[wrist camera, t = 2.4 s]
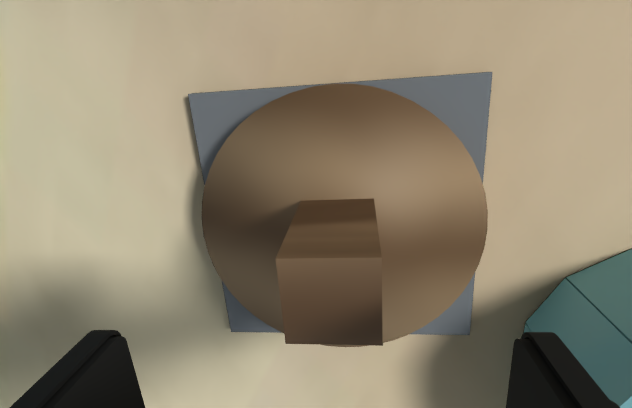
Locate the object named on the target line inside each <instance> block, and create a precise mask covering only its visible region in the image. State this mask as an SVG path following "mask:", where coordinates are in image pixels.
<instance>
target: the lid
mask: <svg viewBox="0 0 632 408" xmlns="http://www.w3.org/2000/svg"><path fill="white" fill-rule="evenodd" d="M487 217H488V211H487V203H486V196H485V191H484V188H483V184H482V181H481V177H480V174H479V172H478V170H477V168H476V166H475V163H474V161H473V159H472V157H471V156H470V154H469V153H468V151H467V150H466V148H465V147H464V145H463V143H462V142H461V141H460V140H459V138H458V137H457V136H456V135H455V134H454V133H453V132H452V131H451V129H450V128H449V127H448V126H447V125H446V124H444V123H443V122H442V121H441V120H440V119H438V118H437V117H436V116H435V115H434V114H432V113H431V112H430V111H428V110H426V109H425V108H423V107H421V106H420V105H418V104H417V103H415V102H413V101H411V100H409V99H407V98H405V97H403V96H400V95H398V94H396V93H393V92H391V91H387V90H384V89H380V88H377V87H373V86H367V85H359V84H326V85H319V86H312V87H309V88H305V89H302V90H298V91H295V92H292V93H289V94H287V95H284V96H282V97H280V98H278V99H275V100H273V101H271V102H269V103H268V104H266V105H265V106H263V107H261V108H260V109H258V110H257V111H255V112H254V113H252V114H251V115H250V116H249V117H248V118H247V119H245V120H244V121H243V122H242V123H241V124H239V126H238V127H237V128H236V129H235V130H234V131H233V132H232V133H231V135H230V136H229V137H228V138H227V139H226V141H225V142H224V144H223V145H222V147H221V148H220V150H219V152H218V153H217V155H216V157H215V159H214V161H213V164H212V166H211V168H210V170H209V174H208V177H207V180H206V183H205V187H204V194H203V200H202V224H203V232H204V238H205V242H206V246H207V250H208V253H209V255H210V258H211V260H212V263H213V265H214V267H215V269H216V271H217V273H218V274H219V276H220V278H221V280H222V281H223V283H224V284H225V285H226V287H227V288H228V290H229V291H230V292H231V294H232V295H233V296H234V297H235V298H236V299H237V300H238V301H239V302H240V303H241V304H242V305H243V306H244V307H245V308H246V309H247V310H248V311H250V312H251V313H252V314H253V315H254V316H256V317H257V318H258V319H260V320H261V321H263V322H264V323H266V324H267V325H269V326H271V327H273V328H275V329H276V330H278V331H280V332H282V333H285V342H286V344H321V345H327V346H338V347H360V346H368V345H383V343H384V342H388V341H392V340H395V339H398V338H400V337H403V336H406V335H408V334H410V333H412V332H414V331H416V330H418V329H420V328H422V327H424V326H425V325H427V324H428V323H430V322H431V321H433V320H434V319H436V318H437V317H439V316H440V315H441V314H442V313H443V312H444V311H445V310H447V309H448V308H449V307H450V306H451V305H452V304H453V303H454V302H455V300H456V299H457V298H458V297H459V296H460V295H461V294H462V292H463V291H464V289H465V288H466V286H467V285H468V283H469V282H470V280H471V279H472V277H473V275H474V273H475V271H476V269H477V267H478V265H479V262H480V259H481V256H482V253H483V250H484V246H485V240H486V234H487Z"/></svg>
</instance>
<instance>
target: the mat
mask: <svg viewBox="0 0 632 408" xmlns="http://www.w3.org/2000/svg"><path fill="white" fill-rule="evenodd" d="M491 82H492V72H483V73H469V74H455V75H441V76H427V77H414V78H400V79H386V80H372V81H358V82H344V83H331V84H359V85H367V86H373V87H377V88H380V89H384V90H387V91H391V92H393V93H396V94H398V95H400V96H403V97H405V98H407V99H409V100H411V101H413V102H415V103H417V104H418V105H420V106H421V107H423V108H425V109H426V110H428V111H430V112H431V113H432V114H434V115H435V116H436V117H437V118H438V119H440V120H441V121H442V122H443V123H444V124H446V125H447V126H448V127H449V128H450V129H451V131H452V132H453V133H454V134H455V135H456V136H457V137H458V138H459V140H460V141H461V142H462V143H463V145H464V147H465V148H466V150H467V151H468V153H469V154H470V156H471V157H472V159H473V161H474V163H475V166H476V168H477V170H478V172H479V174H480V177H481V181H482V184H483V174H484V163H485V151H486V140H487V128H488V117H489V105H490V94H491ZM319 85H326V84H317V85H303V86H289V87H275V88H262V89H248V90H234V91H220V92H206V93H192V94H188V97H189V102H190V108H191V113H192V119H193V124H194V130H195V135H196V141H197V146H198V152H199V157H200V163H201V168H202V174H203V179H204V185H205V183H206V180H207V177H208V174H209V170H210V168H211V166H212V164H213V161H214V159H215V157H216V155H217V153H218V152H219V150H220V148H221V147H222V145H223V144H224V142H225V141H226V139H227V138H228V137H229V136H230V135H231V133H232V132H233V131H234V130H235V129H236V128H237V127H238V126H239V124H241V123H242V122H243V121H244V120H245V119H247V118H248V117H249V116H250V115H251V114H252V113H254V112H255V111H257V110H258V109H260V108H261V107H263V106H265V105H266V104H268V103H269V102H271V101H273V100H275V99H278V98H280V97H282V96H284V95H287V94H289V93H292V92H295V91H298V90H302V89H305V88H309V87H312V86H319ZM474 278H475V273H474V275H473V277H472V279H471V280H470V282H469V283H468V285H467V286H466V288H465V289H464V291H463V292H462V294H461V295H460V296H459V297H458V298H457V299H456V300H455V302H454V303H453V304H452V305H451V306H450V307H449V308H448V309H447V310H445V311H444V312H443V313H442V314H441V315H440V316H439V317H437V318H436V319H434V320H433V321H431V322H430V323H428V324H427V325H425V326H424V327H422V328H420V329H418V330H416V331H414V332H412V333H410V334H435V335H470V324H471V313H472V301H473V290H474ZM222 284H223V289H224V295H225V300H226V306H227V311H228V317H229V322H230V328H231V332H280V331H278V330H276V329H275V328H273V327H271V326H269V325H267V324H266V323H264V322H263V321H261V320H260V319H258V318H257V317H256V316H254V315H253V314H252V313H251V312H250V311H248V310H247V309H246V308H245V307H244V306H243V305H242V304H241V303H240V302H239V301H238V300H237V299H236V298H235V297H234V296H233V295H232V294H231V292H230V291H229V290H228V288H227V287H226V285H225V284H224V283H223V281H222Z"/></svg>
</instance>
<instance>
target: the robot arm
mask: <svg viewBox="0 0 632 408" xmlns="http://www.w3.org/2000/svg"><path fill="white" fill-rule="evenodd" d="M10 408H145V405H144V402H143V398H142V394H141V391H140V387H139V384H138V380H137V377H136V373H135V369H134V366H133V362H132V359H131V355H130V352H129V348H128V345H127V341H126V339H125V338H124V337H122V336H121V334H120V333H119V332H118V331H116V330H94V331H91V332H89V333H88V334H87V335H86V336H85V337H84V338H83V339H82V340H80V341H79V342H78V343H77V344H76V345H75V346H74V347H73V348H72V349H71V350H70V351H69V352H68V353H67V354H66V355H65V356H64V357H63V358H62V359H60V360H59V361H58V362H57V363H56V364H55V365H54V366H53V367H52V368H51V369H50V370H49V371H48V372H47V373H46V374H45V375H44V376H43V377H42V378H40V379H39V380H38V381H37V382H36V383H35V384H34V385H33V386H32V387H31V388H30V389H29V390H28V391H27V392H26V393H25V394H24V395H23V396H22V397H20V398H19V399H18V400H17V401H16V402H15V403H14V404H13V405H12V406H11V407H10ZM506 408H620V407H619V406H618V405H617V404H616V403H615V402H613V401H611V400H610V399H609V398H608V397H607V396H606V395H605V393H604V392H603V391H602V390H601V388H600V387H599V386H598V385H597V383H596V382H595V381H594V380H593V379H592V377H591V376H590V375H589V374H588V372H587V371H586V370H585V369H584V367H583V366H582V365H581V364H580V362H579V361H578V360H577V359H576V358H575V356H574V355H573V354H572V353H571V351H570V350H569V349H568V348H567V346H566V345H565V344H564V343H563V342H562V340H561V339H560V338H559V337H558V336H557V335H556V334H555V333H553V332H525V333H524V334H523V335H522V339H516V340H515V342H514V348H513V356H512V364H511V372H510V380H509V388H508V396H507V404H506Z"/></svg>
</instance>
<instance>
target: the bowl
mask: <svg viewBox="0 0 632 408" xmlns="http://www.w3.org/2000/svg"><path fill="white" fill-rule="evenodd" d="M566 278H567V279H566ZM566 278H565V279H564V280H563V281H562V282H561V283H560V284H559V285H558V287H557V288H556V289H555V290H554V291H553V292H552V293H551V294H550V296H549V297H548V298H547V299H546V300H545V301H544V302H543V303H542V305H541V306H540V307H539V308H538V309H537V310H536V311H535V312H534V313H533V315H532V316H531V317H530V318H529V319H528V320H527V321H526V323H525V328H524V333H525V332H553V333H555V334H556V335H557V336H558V337H559V338H560V339H561V340H562V342H563V343H564V344H565V345H566V346H567V348H568V349H569V350H570V351H571V353H572V354H573V355H574V356H575V358H576V359H577V360H578V361H579V362H580V364H581V365H582V366H583V367H584V369H585V370H586V371H587V372H588V374H589V375H590V376H591V377H592V379H593V380H594V381H595V382H596V383H597V385H598V386H599V387H600V388H601V390H602V391H603V392H604V393H605V395H606V396H607V397H608V398H609V399H610V400H611V401H613V402H615V403H616V404H617V405H618V406H619V407H620V408H632V249H630V250H628V251H626V252H623V253H621V254H619V255H616V256H614V257H612V258H609V259H607V260H605V261H603V262H600V263H598V264H596V265H593V266H591V267H589V268H586V269H584V270H582V271H580V272H577V273H575V274H573V275H570V276H568V277H566Z"/></svg>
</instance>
